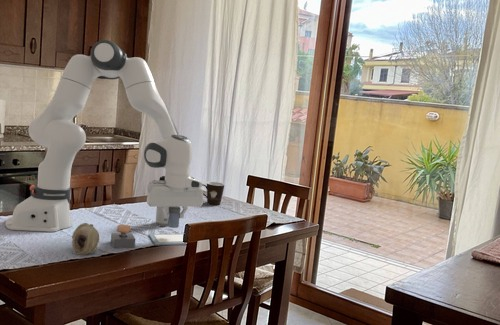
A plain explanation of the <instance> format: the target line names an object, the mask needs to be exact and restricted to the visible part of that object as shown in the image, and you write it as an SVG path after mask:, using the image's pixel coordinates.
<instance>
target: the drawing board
mask: <svg viewBox="0 0 500 325" xmlns="http://www.w3.org/2000/svg"><path fill="white" fill-rule="evenodd" d="M183 234H184V233H149V234H148V237H149V238H150V240H151V241H152V243H153V244H154V246H186V243H184V242H183Z"/></svg>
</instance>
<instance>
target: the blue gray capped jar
mask: <svg viewBox="0 0 500 325" xmlns="http://www.w3.org/2000/svg"><path fill="white" fill-rule="evenodd" d="M181 208H182V207H169V218H168V226H167V228H172V229H177V228H179V227H180V226H179V225H180V218H179V217H180V213H181Z"/></svg>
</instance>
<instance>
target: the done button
mask: <svg viewBox="0 0 500 325" xmlns="http://www.w3.org/2000/svg"><path fill="white" fill-rule="evenodd" d="M131 228H132V226H131V225H129V224H118V225H117V226H116V231H117V233H121V237H126V233H131Z"/></svg>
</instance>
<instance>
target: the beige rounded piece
mask: <svg viewBox="0 0 500 325" xmlns="http://www.w3.org/2000/svg"><path fill="white" fill-rule="evenodd" d="M71 238H72V240H71V243H72V244H71V245H72V246H71V247H72V248H73V252H72V253H73V254H75V255H83V256H84V255H87V254H92V253H94V252H95V250H96V249H97V248H98V246H99V243H100V233H99V231H98V229H96V228H95V226H94V224H93V223H91V224H90V223H87V222H84V223H81V224H79V225H78V226H77V227H76V228H75V230H74V231H73V233H72V236H71Z"/></svg>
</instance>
